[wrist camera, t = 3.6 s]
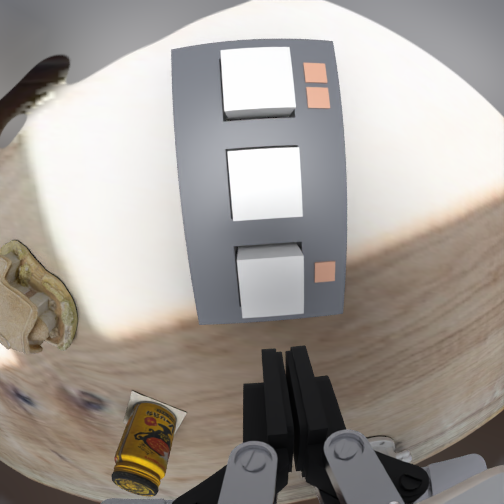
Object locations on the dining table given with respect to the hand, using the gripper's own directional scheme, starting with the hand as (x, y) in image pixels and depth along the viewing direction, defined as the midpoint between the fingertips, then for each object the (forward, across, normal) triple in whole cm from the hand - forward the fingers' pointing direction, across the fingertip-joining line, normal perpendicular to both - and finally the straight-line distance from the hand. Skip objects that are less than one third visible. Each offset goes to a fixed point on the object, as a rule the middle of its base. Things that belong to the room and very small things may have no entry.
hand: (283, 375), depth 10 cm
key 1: (+13, 0, -13) cm, 19 cm away
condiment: (+14, +16, +22) cm, 30 cm away
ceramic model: (+15, +27, +3) cm, 31 cm away
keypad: (+15, 0, -6) cm, 16 cm away
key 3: (+13, 0, +1) cm, 13 cm away
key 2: (+13, 0, -6) cm, 14 cm away
